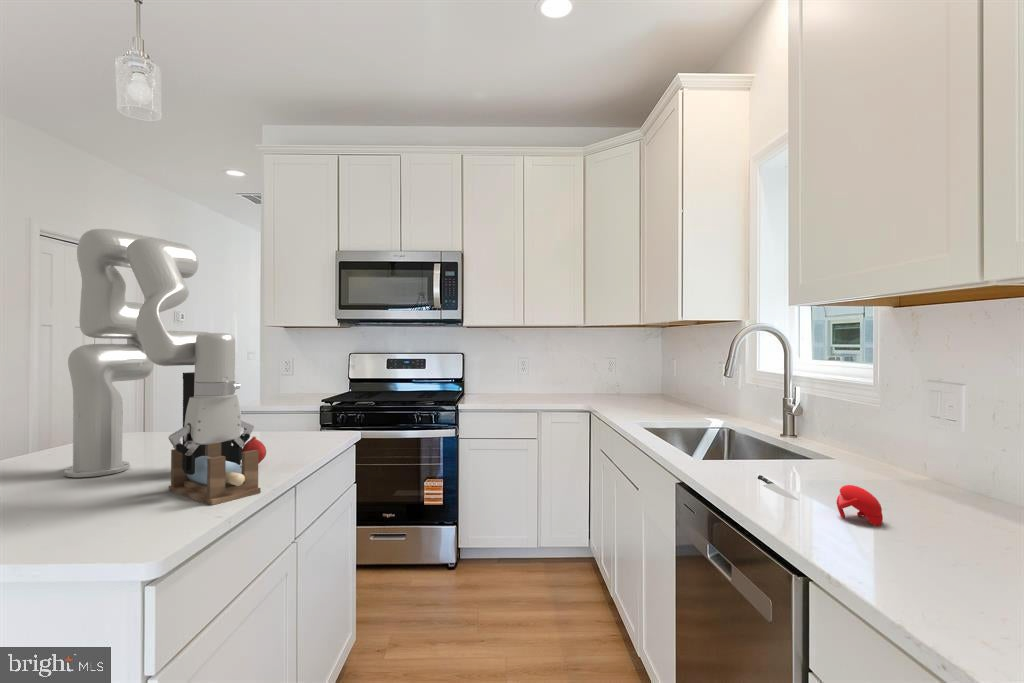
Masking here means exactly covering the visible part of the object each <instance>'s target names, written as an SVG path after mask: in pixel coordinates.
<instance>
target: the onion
mask: <svg viewBox="0 0 1024 683" xmlns="http://www.w3.org/2000/svg"><path fill="white" fill-rule="evenodd" d="M266 448H267V447H266V446H265V444H264V443H263V442H262V441H260V440H258V437H257V436H256V435H254V436H252V438H251V439H250V440H249V439H248V440H247V441H246V442H245V445H244V446H243V447H242V452H246V451H252V450H258V465H259V464H260V463H261V462H262V461H263V460H264V459H265V457H266V456H267V449H266Z"/></svg>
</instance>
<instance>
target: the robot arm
mask: <svg viewBox="0 0 1024 683" xmlns="http://www.w3.org/2000/svg"><path fill="white" fill-rule="evenodd" d="M76 259H77V263H78V267H79V270H80V277H81V290H80V305H79V330H80V331H81V333H82V335H84V336H86V337H88V338H93V339H107V340H109V339H110V340H111V339H119V340H120V339H121V340H122V339H123V340H126V343H92V344H91V343H89V344H84V345H80V346H78V347H76V348H74V349H73V350H72V351H71V352H70V354H69V356H68V358H67V366H68V372H69V376H70V381H71V386H72V410H73V411H72V412H73V413H72V414H73V415H72V416H73V417H72V420H73V422H72V425H73V426H72V433H73V434H72V466H71V467H68V468H66V469H65V470H64V472H63V475H64V476H65V477H67V478H93V477H101V476H107V475H112V474H117V473H121V472H124V471H127V470H129V469H130V467H131V464H130V462H128V461H123V419H124V418H123V410H124V409H123V405H124V404H123V397H122V394H121V393H120V392H119V390H118V389H117V388H116V386H114V384H113V382H114V383H115V382H126V381H127V382H128V381H138V380H139V381H140V380H144V379H146V378H148V377H149V376H150V375H151V374H152V372H153V370H154V367H155V365H157V366H162V367H175V366H177V367H179V366H194V372H195V379H194V381H195V382H194V397H190V398H189V402H188V406H187V410H186V416H185V424H184V427H183V426H182V427H181V428H180V429H178V430H177V431H175V432H173V433H172V434H169V436H168V440H169V441H170V443H171V445H172V449H176V450H177V451H178V452H180V454H182V469H183V471H184V473H186V474H189V475H193V474H194V473H195V456H194V455H193V452H194V451H195V450H196V448H197V447H198V446H199V445H205V444H212V443H218V442H225V441H230V442H231V443H232V446H231V448H230V462H233V463H236V464H238V465H239V466H242V448H243V447H244V445H245V444H246V443H247V442H248V441H249V439H250V437H251V434H252V433H253V431H254V428H255V426H254V424H250V423H248V422H246V421H243V420H242V419H241V410H240V409H241V408H240V402H239V398H238V395H236V394H235V393H236V390H239V389H240V388H241V384H240V383H238V382H236V381H235V379H236V378H235V377H236V374H235V372H236V371H235V370H236V338H235V337H234V335H233V334H231V333H227V332H226V333H224V332H208V331H192V330H191V331H189V330H188V331H187V330H167V329H166V328H165V326H164V324H163V320H162V319H161V317H160V313H162V312H165V311H168V310H171V309H173V308H176V307H178V306H180V305H181V304H183V303H184V302H185V301H186V300H187V299H188V297H189V295H190V294H189V292H190V291H189V289H188V286H187V285H186V282H185V280H184V279H189V278H191V277H193V276H194V275H196V273H197V272H198V270H199V269H198V268H199V259H198V255H197V254H196V251H194V250H193V249H192V247H190V246H189V245H187V244H184V243H180V242H174V241H171V240H166V239H162V238H157V237H153V236H147V235H143V234H136V233H133V232H127V231H122V230H116V229H108V228H94V229H90V230H87V231H85V232H84V233H83V234H82V235H81V237H80V238H79V240H78V243H77V248H76ZM116 267H121V268H122V267H123V268H129V269H131V270H132V272H133V274H134V277H135V279H136V281H137V283H138V286H139V288H140V290H141V292H142V295H143V297H144V298H145V301H144V303H142V302H131V301H126V290H127V289H126V286H127V285H126V281H125V279H124V278H123V276H122V274H121V273H120V271H119V270H118V269H117V268H116ZM242 428H243V433H241V430H242ZM183 436H184V441H185V442H186V444H185V445H183V443H182V442H181V438H183Z"/></svg>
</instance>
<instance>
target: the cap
mask: <svg viewBox="0 0 1024 683" xmlns="http://www.w3.org/2000/svg"><path fill="white" fill-rule="evenodd" d="M836 507H837V510H838V512H839V515H840V517H841V518H842V519H846V514H845V511H844V509H846V508H848V507H853V508H854V509H856V510H858V511H857V513H856V516H858V517H862V516H863V517H865V518H866V520H867V521H868V522H869V523H870V524H871V525H873V526H875V527H879V526H880V527H881V525H882V524H883V517H884V516H883V513H882V512H883V510H882V506H881V503H880V502H879V500H878V499H877V497H875V496H874V495H873V494H872V493H870V492H869V491H867V489H864V488H863V487H861V486H858V485H854V484H853V485H852V484H846V485H843V486H841V487H840V488H839V494H838V496H837V498H836Z"/></svg>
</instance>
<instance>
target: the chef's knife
mask: <svg viewBox="0 0 1024 683" xmlns="http://www.w3.org/2000/svg"><path fill="white" fill-rule="evenodd" d="M757 479H759V480H761V481H763V482H765V483H766V484H763V485H762V487H763V488H766V489H768V490H770V491H772V492H773V493H776V494H778V495H780V496H783V497H785V498H788V499H791V500H795V501H799V498H797V497H796V496H794V495H793V494H791V493H790V492H788V491H787V490H786V489H783V488H782V487H780V486H778V484H776V483H774V482H773V481H771V480H769V479H767V477H765V476H764V475H761V474H759V475H758V476H757Z"/></svg>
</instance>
